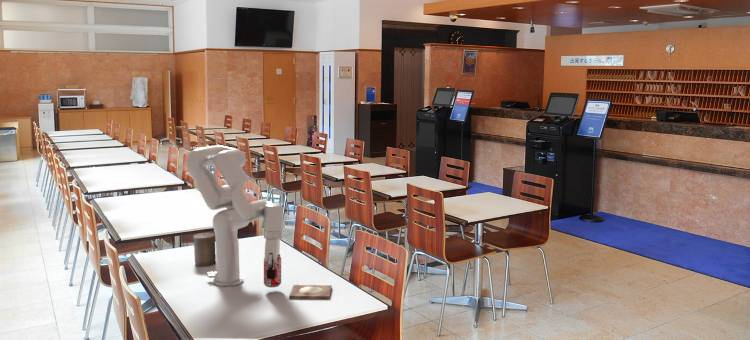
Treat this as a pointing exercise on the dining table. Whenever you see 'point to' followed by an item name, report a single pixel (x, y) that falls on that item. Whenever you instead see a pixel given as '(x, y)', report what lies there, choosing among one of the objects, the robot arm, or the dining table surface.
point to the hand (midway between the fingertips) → (272, 275)
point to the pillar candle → (204, 249)
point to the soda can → (277, 280)
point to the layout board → (310, 292)
